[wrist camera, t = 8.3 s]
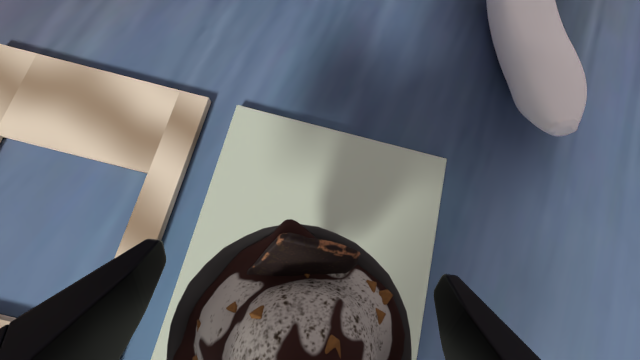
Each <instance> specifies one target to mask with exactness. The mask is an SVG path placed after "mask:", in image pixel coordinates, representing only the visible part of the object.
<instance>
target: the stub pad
mask: <svg viewBox="0 0 640 360" xmlns="http://www.w3.org/2000/svg"><path fill="white" fill-rule="evenodd" d="M446 160H447V159H445V158H442V157H438V156H434V155H430V154H426V153H422V152H418V151H414V150H410V149H407V148H403V147H399V146H395V145H391V144H387V143H383V142H379V141H375V140H371V139H368V138H364V137H360V136H356V135H352V134H348V133H344V132H340V131H336V130H333V129H329V128H325V127H321V126H317V125H313V124H309V123H305V122H301V121H298V120H294V119H290V118H286V117H282V116H278V115H274V114H270V113H266V112H263V111H259V110H255V109H251V108H247V107H243V106H239V105H237V106H236V109H235V112H234V115H233V118H232V121H231V124H230V127H229V130H228V133H227V136H226V139H225V142H224V145H223V148H222V151H221V154H220V157H219V160H218V163H217V166H216V169H215V172H214V175H213V177H212V180H211V183H210V186H209V189H208V192H207V195H206V198H205V201H204V204H203V207H202V210H201V213H200V216H199V219H198V222H197V225H196V228H195V231H194V234H193V237H192V240H191V243H190V245H189V248H188V251H187V254H186V257H185V260H184V263H183V266H182V269H181V272H180V275H179V278H178V281H177V284H176V287H175V290H174V293H173V296H172V299H171V302H170V305H169V308H168V311H167V313H166V316H165V319H164V322H163V325H162V328H161V331H160V334H159V337H158V340H157V343H156V346H155V349H154V352H153V355H152V358H151V360H166V359H167V344H168V337H169V331H170V325H171V322H172V319H173V316H174V313H175V311H176V308H177V305H178V303H179V301H180V299H181V297H182V296H183V294H184V292H185V290H186V288H187V286H188V284H189V282H190V281H191V280H192V279H193V278H194V277H195V276H196V274H197V273H198V272H199V271H200V270H201V269H202V268H203V266H204V265H205V264H206V263H207V262H208V261H210V260H211V259H212V258H213V257H214V256H215V255H216V254H217V253H219V252H220V251H221V250H222V249H223V248H224V247H226V246H228V245H230V244H231V243H233V242H235V241H237V240H239V239H241V238H242V237H244V236H246V235H249V234H251V233H253V232H256V231H258V230H261V229H263V228H267V227H272V226H278V225H280V224H281V223H282V222H283V221H285V220H287V219H293V220H295V221H297V222H298V223H300V224H303V225H310V226H318V227H320V228H323V229H326V230H329V231H332V232H334V233H337V234H339V235H341V236H343V237H345V238H347V239H349V240H351V241H353V242H355V243H356V244H358V245H359V246H360V247H361V248H362V249H364V250H365V251H366V252H367V253H368V254H370V255H371V256H372V257H373V258H374V259H375V260H376V261H377V262H378V263H379V264H380V265H381V266H382V268H383V269H384V270H385V271H386V272H387V273H388V274H389V276H390V277H391V279H392V281H393V283H394V285H395V286H396V288H397V290H398V292H399V294H400V296H401V299H402V301H403V304H404V306H405V309H406V311H407V316H408V322H409V327H410V335H411V348H412V360H417V353H418V346H419V340H420V333H421V327H422V320H423V313H424V307H425V300H426V293H427V287H428V280H429V273H430V267H431V260H432V253H433V247H434V240H435V234H436V227H437V220H438V214H439V207H440V200H441V194H442V187H443V180H444V174H445V167H446Z"/></svg>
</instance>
